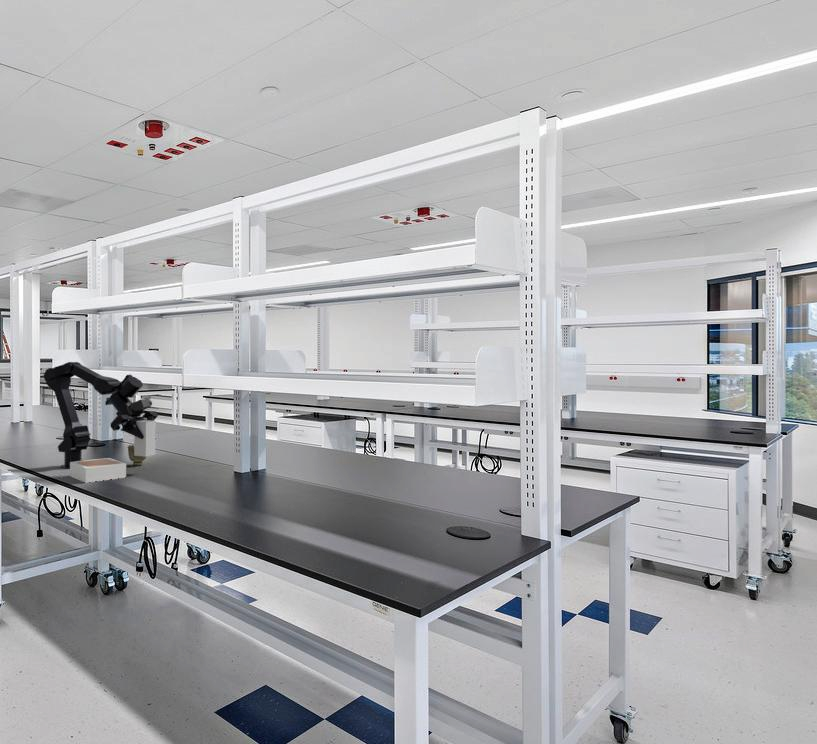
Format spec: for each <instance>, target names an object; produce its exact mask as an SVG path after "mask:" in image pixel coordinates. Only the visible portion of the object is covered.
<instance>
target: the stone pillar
mask: <svg viewBox="0 0 817 744" xmlns="http://www.w3.org/2000/svg"><path fill="white" fill-rule="evenodd" d="M136 425H137V427H138V428H139V430H140V431H141V433H142V434H143V436H144V438H143V439H140V438H138V437H136V436H134V435H133V436H134V437H133V438H134V443H133V445H134V456H145V457H146V456H147V457H149V456H155V455H156V436H157V435H156V430H157V429H156V427H157V421H156V420H154V421H151V420H142V421H136ZM147 457H146V458H147Z"/></svg>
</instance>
